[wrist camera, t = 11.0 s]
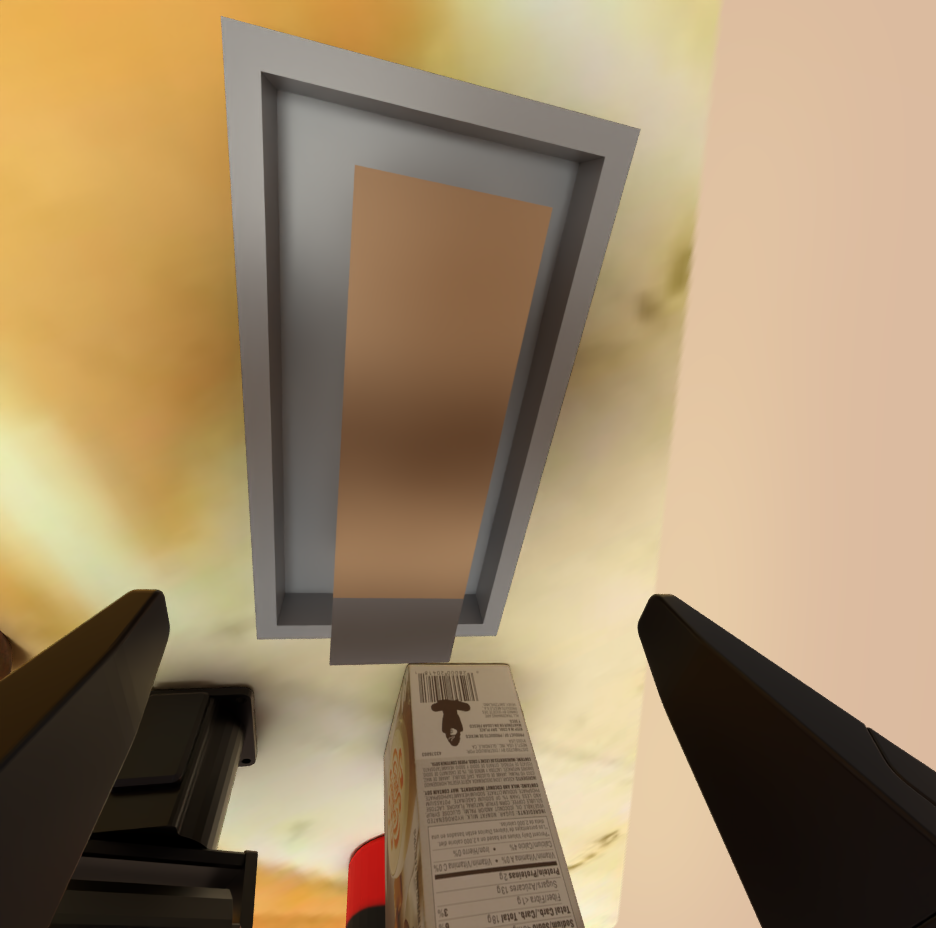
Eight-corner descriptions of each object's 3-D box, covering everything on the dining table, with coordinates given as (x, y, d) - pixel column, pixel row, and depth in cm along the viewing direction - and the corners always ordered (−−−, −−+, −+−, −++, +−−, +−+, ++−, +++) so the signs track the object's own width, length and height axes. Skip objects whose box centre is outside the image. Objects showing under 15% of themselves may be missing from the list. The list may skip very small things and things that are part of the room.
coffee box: (476, 752, 31) (554, 1191, 17) (381, 756, 29) (382, 1245, 15) (512, 660, 27) (652, 1141, 13) (403, 660, 25) (431, 1207, 11)
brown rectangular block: (364, 181, 14) (354, 164, 9) (491, 207, 15) (552, 207, 9) (342, 548, 20) (329, 665, 15) (432, 550, 21) (449, 662, 16)
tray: (485, 597, 24) (496, 635, 22) (269, 596, 21) (256, 639, 19) (602, 140, 15) (640, 129, 13) (248, 49, 12) (220, 16, 10)
